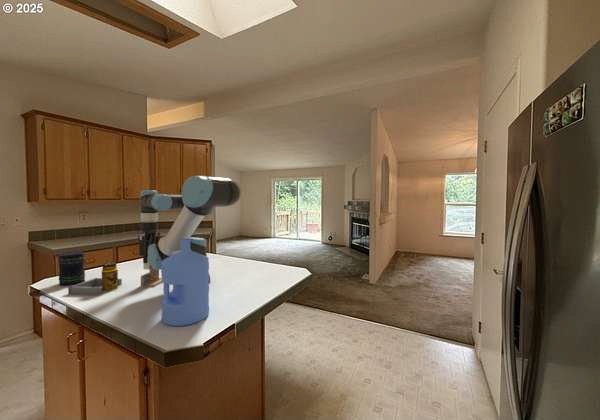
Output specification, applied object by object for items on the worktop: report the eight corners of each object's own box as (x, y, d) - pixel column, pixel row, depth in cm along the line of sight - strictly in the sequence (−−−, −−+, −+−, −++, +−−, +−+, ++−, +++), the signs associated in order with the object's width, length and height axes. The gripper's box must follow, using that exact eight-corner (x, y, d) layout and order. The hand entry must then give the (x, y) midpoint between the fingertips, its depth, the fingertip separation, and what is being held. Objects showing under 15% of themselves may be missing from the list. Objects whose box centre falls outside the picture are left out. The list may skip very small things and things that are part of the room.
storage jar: (54, 284, 126) (53, 254, 126) (77, 279, 135) (77, 250, 135) (66, 287, 123) (65, 256, 122) (89, 281, 132) (89, 252, 131)
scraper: (166, 280, 135) (167, 251, 134) (154, 287, 125) (154, 255, 124) (153, 279, 135) (154, 250, 134) (140, 286, 125) (140, 255, 125)
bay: (121, 284, 127) (121, 278, 127) (97, 295, 113) (96, 288, 113) (95, 283, 128) (95, 277, 128) (68, 294, 114) (68, 287, 114)
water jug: (200, 304, 104) (199, 235, 103) (216, 318, 92) (215, 239, 91) (156, 315, 94) (155, 238, 93) (168, 332, 82) (167, 244, 81)
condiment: (115, 290, 119) (115, 264, 118) (93, 292, 116) (93, 266, 116) (121, 285, 126) (120, 261, 125) (100, 287, 123) (100, 262, 123)
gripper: (153, 219, 138) (154, 263, 139) (129, 222, 120) (130, 272, 121) (166, 220, 137) (167, 263, 138) (144, 223, 120) (145, 273, 121)
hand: (150, 267), depth 130 cm, fingers open, 4 cm apart
